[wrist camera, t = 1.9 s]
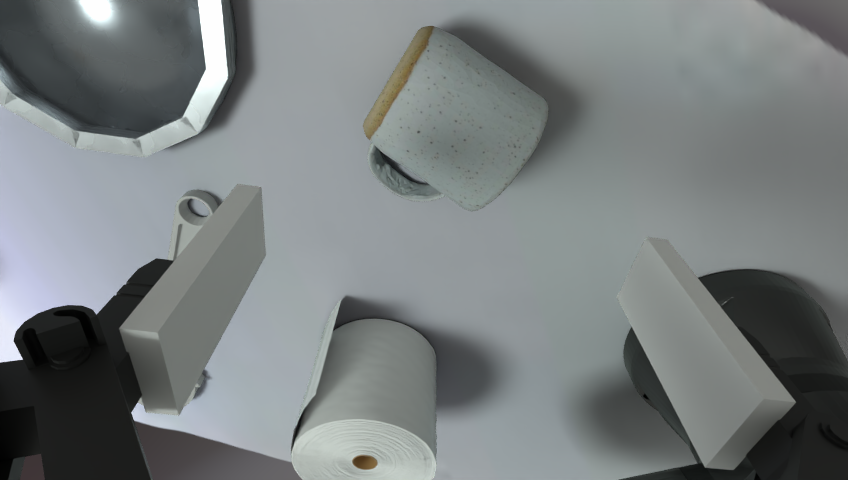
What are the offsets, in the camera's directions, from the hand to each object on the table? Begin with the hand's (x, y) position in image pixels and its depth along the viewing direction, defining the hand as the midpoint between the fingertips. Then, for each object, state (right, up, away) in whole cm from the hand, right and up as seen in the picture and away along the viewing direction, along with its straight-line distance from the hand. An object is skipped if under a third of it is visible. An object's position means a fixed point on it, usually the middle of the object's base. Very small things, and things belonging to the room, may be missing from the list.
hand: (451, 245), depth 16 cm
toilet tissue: (-6, -10, +26) cm, 28 cm away
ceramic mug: (0, +8, +14) cm, 16 cm away
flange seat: (-20, +13, +10) cm, 26 cm away
